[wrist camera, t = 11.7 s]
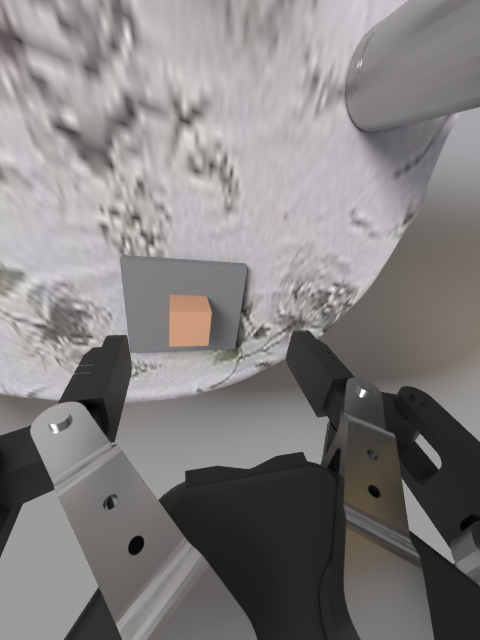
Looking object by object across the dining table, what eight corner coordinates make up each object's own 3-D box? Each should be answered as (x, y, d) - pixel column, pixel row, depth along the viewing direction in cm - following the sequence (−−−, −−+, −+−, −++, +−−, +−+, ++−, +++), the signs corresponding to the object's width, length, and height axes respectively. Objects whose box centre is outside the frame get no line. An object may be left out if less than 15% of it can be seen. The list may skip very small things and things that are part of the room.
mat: (244, 263, 34) (247, 266, 33) (233, 343, 40) (235, 348, 39) (122, 255, 29) (120, 258, 28) (131, 346, 36) (130, 352, 35)
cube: (206, 296, 33) (211, 312, 29) (204, 326, 36) (208, 345, 31) (169, 294, 32) (169, 311, 28) (169, 326, 34) (169, 346, 30)
